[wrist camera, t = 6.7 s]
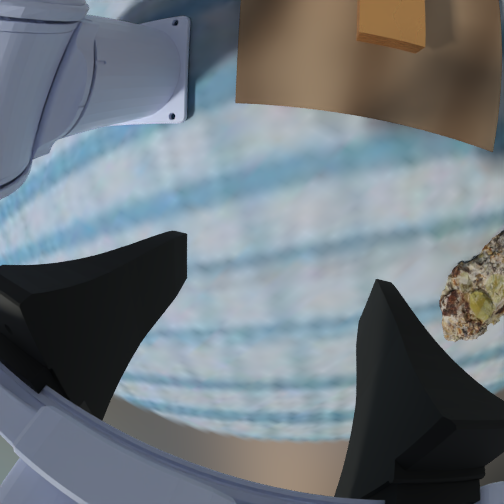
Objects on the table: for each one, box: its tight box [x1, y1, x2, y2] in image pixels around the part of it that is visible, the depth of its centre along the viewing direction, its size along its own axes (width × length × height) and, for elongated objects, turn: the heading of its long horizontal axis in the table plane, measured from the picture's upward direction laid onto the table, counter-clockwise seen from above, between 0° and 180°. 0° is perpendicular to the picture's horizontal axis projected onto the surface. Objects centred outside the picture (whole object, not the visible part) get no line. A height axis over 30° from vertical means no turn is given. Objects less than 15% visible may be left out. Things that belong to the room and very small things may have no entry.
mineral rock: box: [440, 232, 504, 342], centre depth 18 cm, size 11×4×8 cm
